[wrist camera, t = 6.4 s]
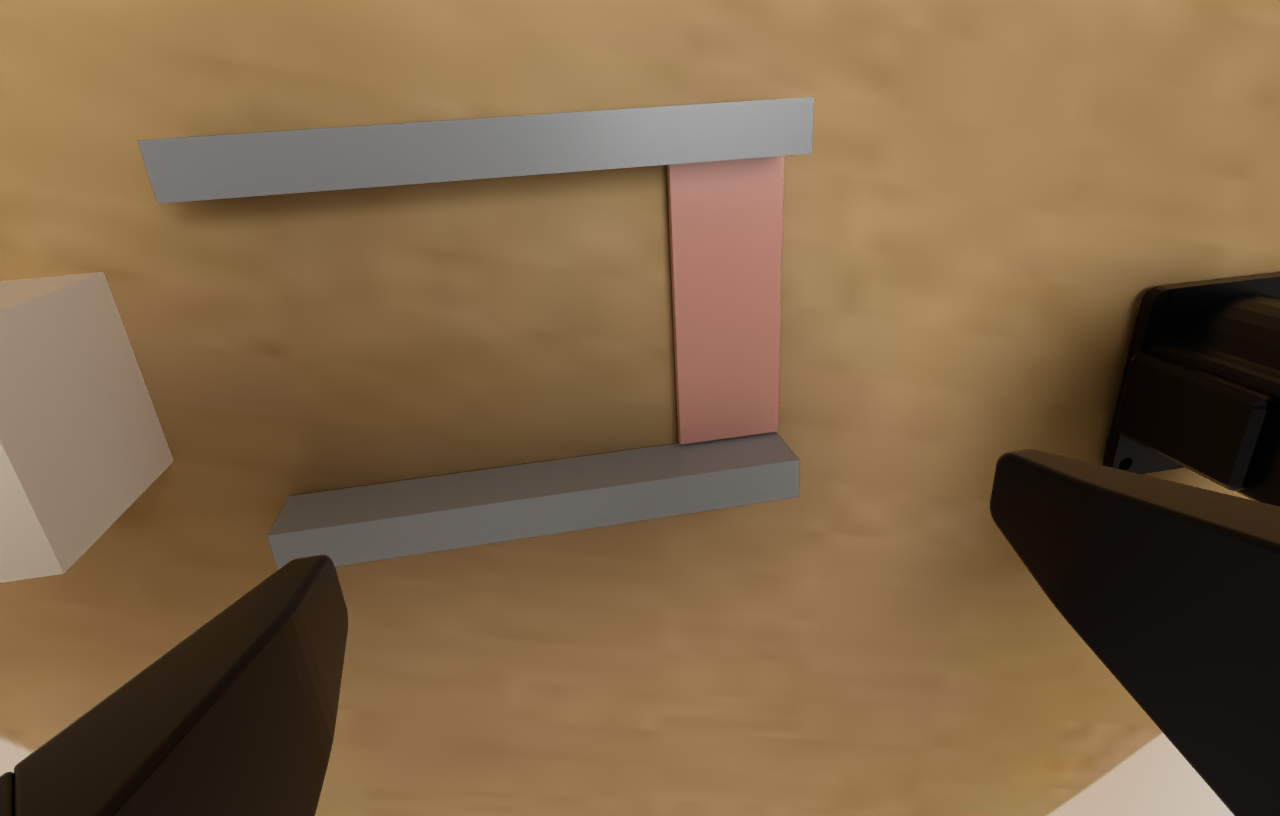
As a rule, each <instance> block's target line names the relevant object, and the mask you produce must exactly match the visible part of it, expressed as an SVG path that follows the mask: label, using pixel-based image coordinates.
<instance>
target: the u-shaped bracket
mask: <svg viewBox="0 0 1280 816" xmlns="http://www.w3.org/2000/svg"><path fill="white" fill-rule="evenodd" d="M813 103H814V97H803V98H787V99H772V100H756V101H741V102H725V103H710V104H694V105H679V106H663V107H647V108H632V109H616V110H601V111H585V112H570V113H554V114H539V115H523V116H508V117H492V118H477V119H461V120H446V121H430V122H415V123H399V124H383V125H368V126H352V127H337V128H321V129H306V130H290V131H275V132H259V133H244V134H228V135H213V136H197V137H182V138H166V139H150V140H137V142H138V145H139V148H140V151H141V154H142V157H143V160H144V163H145V166H146V169H147V172H148V175H149V179H150V182H151V185H152V188H153V191H154V194H155V197H156V200H157V203H158V204H161V203H174V202H187V201H200V200H213V199H226V198H239V197H252V196H265V195H278V194H292V193H305V192H318V191H331V190H344V189H357V188H370V187H383V186H396V185H409V184H422V183H435V182H448V181H461V180H474V179H487V178H500V177H513V176H526V175H539V174H552V173H565V172H578V171H592V170H605V169H618V168H631V167H644V166H657V165H667V181H668V205H669V229H670V253H671V277H672V301H673V325H674V349H675V373H676V397H677V421H678V441H679V442H680V443H676V444H669V445H661V446H654V447H647V448H639V449H632V450H624V451H617V452H610V453H602V454H595V455H588V456H580V457H573V458H565V459H558V460H551V461H543V462H536V463H528V464H521V465H514V466H506V467H499V468H492V469H484V470H477V471H469V472H462V473H455V474H447V475H440V476H432V477H425V478H418V479H410V480H403V481H396V482H388V483H381V484H373V485H366V486H359V487H351V488H344V489H337V490H329V491H322V492H314V493H307V494H300V495H292V496H289V498H288V500H287V501H286V503H285V505H284V507H283V508H282V510H281V512H280V514H279V515H278V517H277V519H276V521H275V522H274V524H273V526H272V527H271V529H270V531H269V533H268V534H267V538H268V541H269V544H270V547H271V550H272V553H273V557H274V560H275V563H276V566H277V569H278V570H279V569H280V568H282V567H283V566H284V565H286V564H287V563H288V562H290V561H291V560H293V559H296V558H303V557H310V556H317V555H327V556H329V557H330V558H331V560H332V561H333V563H334V566H335V567H338V566H344V565H351V564H358V563H364V562H371V561H378V560H384V559H391V558H398V557H404V556H411V555H417V554H424V553H431V552H437V551H444V550H451V549H457V548H464V547H471V546H477V545H484V544H490V543H497V542H504V541H510V540H517V539H524V538H530V537H537V536H544V535H550V534H557V533H563V532H570V531H577V530H583V529H590V528H597V527H603V526H610V525H617V524H623V523H630V522H637V521H643V520H650V519H656V518H663V517H670V516H676V515H683V514H690V513H696V512H703V511H710V510H716V509H723V508H729V507H736V506H743V505H749V504H756V503H763V502H769V501H776V500H783V499H789V498H796V497H799V476H800V459H799V458H798V457H797V456H796V454H795V453H794V452H793V451H792V450H791V449H790V448H789V446H788V445H787V444H786V443H785V442H784V441H783V439H782V438H781V437H780V436H779V435H778V434H777V433H776V431H778V413H779V369H780V325H781V281H782V237H783V193H784V156H787V155H800V154H812V129H813Z"/></svg>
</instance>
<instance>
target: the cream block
mask: <svg viewBox="0 0 1280 816" xmlns="http://www.w3.org/2000/svg"><path fill="white" fill-rule="evenodd" d="M173 462H174V460H173V457H172V454H171V452H170V449H169V446H168V444H167V441H166V438H165V436H164V433H163V430H162V427H161V425H160V422H159V419H158V417H157V414H156V411H155V409H154V406H153V403H152V401H151V398H150V395H149V393H148V390H147V387H146V385H145V382H144V379H143V377H142V374H141V371H140V369H139V366H138V363H137V360H136V358H135V355H134V352H133V350H132V347H131V344H130V342H129V339H128V336H127V334H126V331H125V328H124V326H123V323H122V320H121V318H120V315H119V312H118V310H117V307H116V304H115V302H114V299H113V296H112V293H111V291H110V288H109V285H108V283H107V280H106V277H105V275H104V272H95V273H83V274H72V275H61V276H50V277H38V278H27V279H16V280H5V281H0V583H4V582H11V581H18V580H25V579H32V578H39V577H46V576H53V575H60V574H64V573H65V572H66V571H67V570H68V569H69V568H70V567H71V566H72V565H73V564H74V563H75V562H76V561H77V560H78V559H79V558H80V557H81V556H82V555H83V554H84V553H85V552H86V551H87V550H88V549H89V548H90V547H91V546H92V545H93V544H94V543H95V542H96V541H97V540H98V539H99V538H100V537H101V535H102V534H103V533H104V532H105V531H106V530H107V529H108V528H109V527H110V526H111V525H112V524H113V523H114V522H115V521H116V520H117V519H118V518H119V517H120V516H121V515H122V514H123V513H124V512H125V511H126V510H127V509H128V508H129V507H130V506H131V505H132V504H133V503H134V502H135V501H136V500H137V499H138V498H139V496H140V495H141V494H142V493H143V492H144V491H145V490H146V489H147V488H148V487H149V486H150V485H151V484H152V483H153V482H154V481H155V480H156V479H157V478H158V477H159V476H160V475H161V474H162V473H163V472H164V471H165V470H166V469H167V468H168V467H169V466H170V465H171V464H172V463H173Z"/></svg>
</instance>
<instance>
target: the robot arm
mask: <svg viewBox="0 0 1280 816" xmlns="http://www.w3.org/2000/svg"><path fill="white" fill-rule="evenodd" d="M1161 301H1162V302H1161ZM1160 302H1161V304H1160ZM1159 304H1160V306H1159ZM1158 306H1159V307H1158ZM1184 467H1186V468H1188V469H1190V470H1191V471H1193V472H1195V473H1197V474H1199V475H1201V476H1203V477H1205V478H1207V479H1209V480H1211V481H1213V482H1215V483H1217V484H1219V485H1221V486H1223V487H1225V488H1227V489H1229V490H1233V491H1237V492H1238V493H1240V494H1242V495H1244V496H1246V497H1248V498H1250V499H1252V500H1249V499H1244V498H1240V497H1236V496H1231V495H1227V494H1223V493H1218V492H1214V491H1210V490H1205V489H1201V488H1197V487H1193V486H1188V485H1184V484H1180V483H1175V482H1171V481H1167V480H1162V479H1158V478H1154V477H1149V476H1145V475H1141V474H1145V473H1152V472H1158V471H1164V470H1171V469H1177V468H1184ZM1253 500H1254V501H1253ZM990 511H991V515H992V518H993V520H994V522H995V523H996V525H997V526H998V528H999V529H1000V530H1001V532H1002V533H1003V535H1004V536H1005V538H1006V539H1007V540H1008V542H1009V543H1010V545H1011V546H1012V547H1013V549H1014V550H1015V552H1016V553H1017V554H1018V556H1019V557H1020V559H1021V560H1022V561H1023V563H1024V564H1025V566H1026V567H1027V568H1028V570H1029V571H1030V573H1031V574H1032V576H1033V577H1034V578H1035V580H1036V581H1037V583H1038V584H1039V585H1040V587H1041V588H1042V590H1043V591H1044V592H1045V594H1046V595H1047V596H1048V598H1049V599H1050V600H1051V602H1052V603H1053V604H1054V606H1055V607H1056V608H1057V610H1058V611H1059V612H1060V613H1061V614H1062V616H1063V617H1064V618H1065V619H1066V621H1067V622H1068V623H1069V624H1070V625H1071V626H1072V628H1073V629H1074V630H1075V631H1076V632H1077V633H1078V635H1079V636H1080V637H1081V638H1082V639H1083V640H1084V642H1085V643H1086V644H1087V645H1088V646H1089V647H1090V648H1091V650H1092V651H1093V652H1094V653H1095V654H1096V655H1097V657H1098V658H1099V659H1100V660H1101V661H1102V662H1103V664H1104V665H1105V666H1106V667H1107V668H1108V669H1109V670H1110V672H1111V673H1112V674H1113V675H1114V676H1115V677H1116V679H1117V680H1118V681H1119V682H1120V683H1121V684H1122V686H1123V687H1124V688H1125V689H1126V690H1127V691H1128V693H1129V694H1130V695H1131V696H1132V697H1133V698H1134V699H1135V701H1136V702H1137V703H1138V704H1139V705H1140V706H1141V708H1142V709H1143V710H1144V711H1145V712H1146V713H1147V715H1148V716H1149V717H1150V718H1151V719H1152V720H1153V722H1154V723H1155V724H1156V725H1157V726H1158V727H1159V728H1160V730H1161V731H1162V732H1163V733H1164V734H1165V735H1166V737H1167V738H1168V739H1169V740H1170V741H1171V742H1172V744H1173V745H1174V746H1175V747H1176V748H1177V749H1178V750H1179V752H1180V753H1181V754H1182V755H1183V756H1184V757H1185V759H1186V760H1187V761H1188V762H1189V763H1190V764H1191V766H1192V767H1193V768H1194V769H1195V770H1196V771H1197V773H1199V775H1200V776H1201V777H1202V778H1203V779H1204V781H1205V782H1206V783H1207V784H1208V785H1209V786H1210V788H1211V789H1212V790H1213V791H1214V792H1215V793H1216V794H1217V796H1218V797H1219V798H1220V799H1221V800H1222V801H1223V803H1224V804H1225V805H1226V806H1227V807H1228V808H1229V810H1230V811H1231V812H1232V813H1233V814H1234V815H1235V816H1280V272H1278V273H1269V274H1261V275H1252V276H1243V277H1234V278H1225V279H1217V280H1208V281H1199V282H1190V283H1182V284H1173V285H1164V286H1157V287H1154V288H1152V289H1151V290H1149V291H1148V292H1147V293H1146V294H1145V295H1144V297H1143V298H1142V301H1141V303H1140V307H1139V312H1138V316H1137V320H1136V324H1135V328H1134V333H1133V337H1132V341H1131V345H1130V350H1129V354H1128V358H1127V362H1126V367H1125V371H1124V375H1123V379H1122V383H1121V388H1120V392H1119V396H1118V400H1117V405H1116V409H1115V413H1114V417H1113V422H1112V426H1111V430H1110V434H1109V439H1108V443H1107V447H1106V451H1105V455H1104V460H1103V466H1102V465H1098V464H1093V463H1089V462H1085V461H1081V460H1076V459H1072V458H1068V457H1063V456H1059V455H1055V454H1050V453H1046V452H1042V451H1037V450H1032V449H1026V450H1020V451H1013V452H1008V453H1004V454H1003V455H1002V456H1000V458H999V459H998V461H997V464H996V470H995V476H994V482H993V488H992V494H991V500H990ZM347 631H348V613H347V608H346V604H345V601H344V597H343V594H342V590H341V587H340V583H339V580H338V576H337V573H336V569H335V566H334V563H333V561H332V560H331V558H330V557H329V556H327V555H317V556H310V557H303V558H296V559H293V560H291V561H290V562H288V563H287V564H286V565H284V566H283V567H282V568H280V569H279V570H278V571H276V572H275V573H274V574H272V575H271V576H270V577H268V578H267V579H265V580H264V581H263V582H261V583H260V584H259V585H257V586H256V587H255V588H253V589H252V590H251V591H249V592H248V593H247V594H245V595H244V596H243V597H241V598H240V599H239V600H237V601H236V602H235V603H233V604H232V605H231V606H229V607H228V608H227V609H225V610H224V611H222V612H221V613H220V614H218V615H217V616H216V617H214V618H213V619H212V620H210V621H209V622H208V623H206V624H205V625H204V626H202V627H201V628H200V629H198V630H197V631H196V632H194V633H193V634H192V635H190V636H189V637H188V638H186V639H185V640H184V641H182V642H181V643H179V644H178V645H177V646H175V647H174V648H173V649H171V650H170V651H169V652H167V653H166V654H165V655H163V656H162V657H161V658H159V659H158V660H157V661H155V662H154V663H153V664H151V665H150V666H149V667H147V668H146V669H145V670H143V671H142V672H141V673H139V674H138V675H136V676H135V677H134V678H132V679H131V680H130V681H128V682H127V683H126V684H124V685H123V686H122V687H120V688H119V689H118V690H116V691H115V692H114V693H112V694H111V695H110V696H108V697H107V698H106V699H104V700H103V701H102V702H100V703H99V704H98V705H96V706H95V707H93V708H92V709H91V710H89V711H88V712H87V713H85V714H84V715H83V716H81V717H80V718H79V719H77V720H76V721H75V722H73V723H72V724H71V725H69V726H68V727H67V728H65V729H64V730H63V731H61V732H60V733H59V734H57V735H56V736H55V737H53V738H52V739H50V740H49V741H48V742H46V743H45V744H44V745H42V746H41V747H40V748H38V749H37V750H36V751H34V752H33V753H32V754H30V755H29V756H28V757H26V758H25V759H24V760H22V761H21V762H20V763H18V764H17V765H16V766H15V768H14V773H12V772H7V773H5V774H3V775H2V776H1V777H0V816H315V813H316V809H317V805H318V801H319V797H320V793H321V789H322V785H323V781H324V777H325V774H326V770H327V766H328V761H329V757H330V752H331V748H332V743H333V737H334V731H335V724H336V717H337V709H338V701H339V694H340V686H341V678H342V670H343V662H344V655H345V647H346V639H347Z"/></svg>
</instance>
